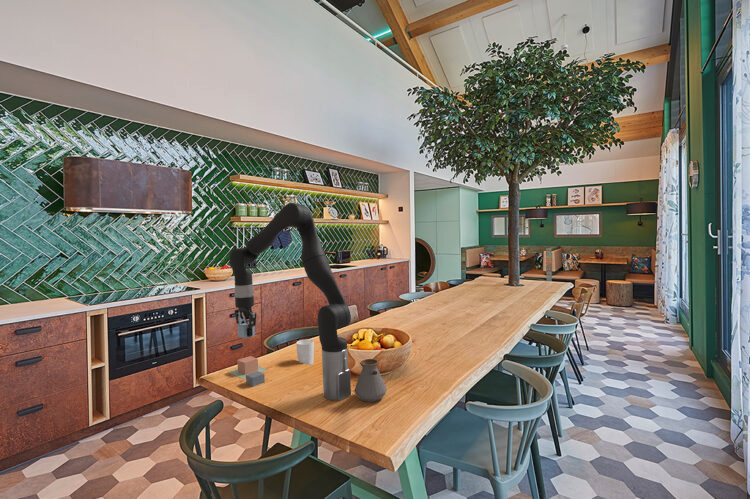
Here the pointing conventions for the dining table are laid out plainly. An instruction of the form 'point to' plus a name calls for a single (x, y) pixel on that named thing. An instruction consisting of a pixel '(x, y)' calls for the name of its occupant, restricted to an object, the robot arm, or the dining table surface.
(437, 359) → the dining table surface
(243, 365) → the base brick
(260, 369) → the build plate
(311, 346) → the white cup
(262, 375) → the slate brick
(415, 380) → the dining table surface
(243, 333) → the blue brick
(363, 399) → the coffee pot
